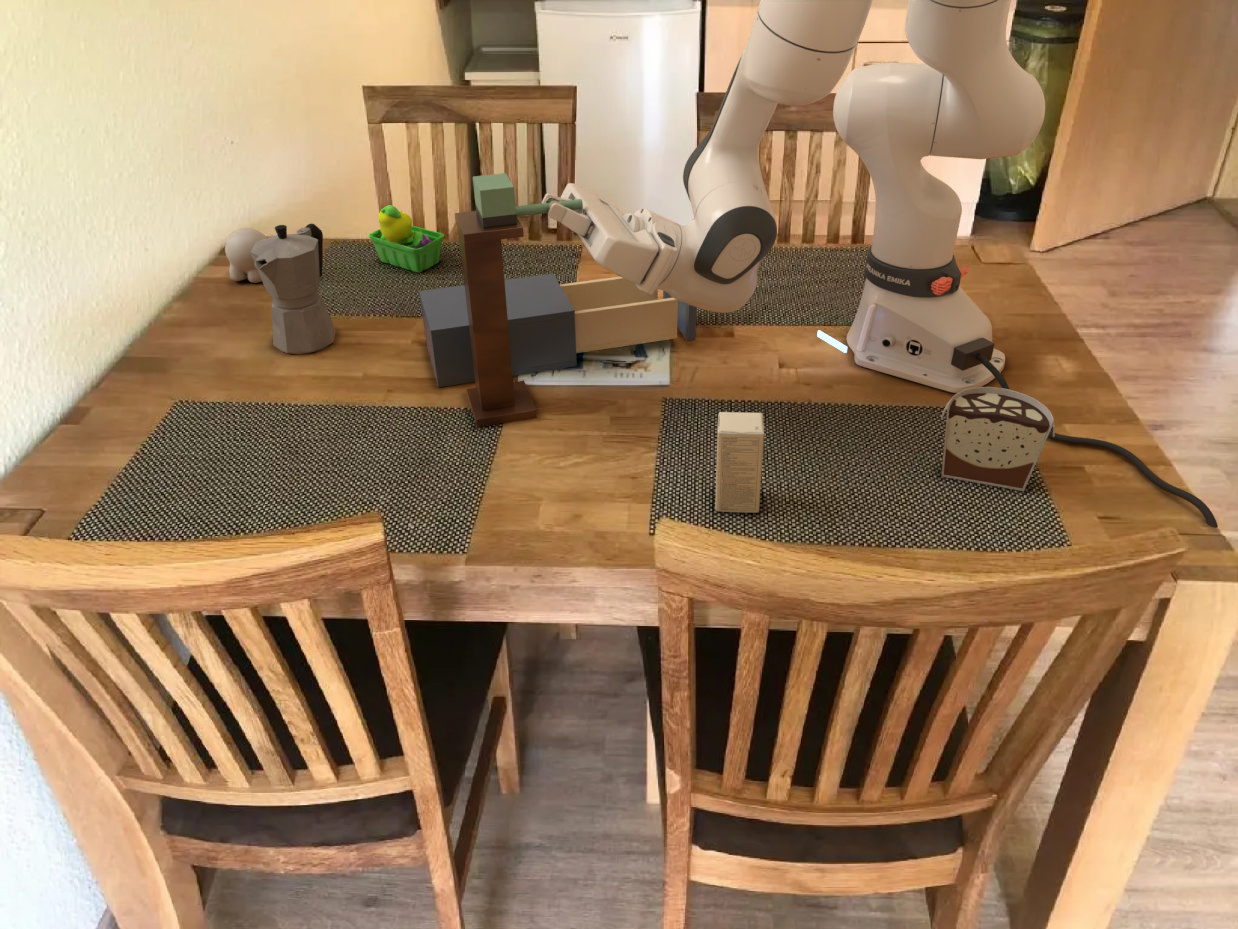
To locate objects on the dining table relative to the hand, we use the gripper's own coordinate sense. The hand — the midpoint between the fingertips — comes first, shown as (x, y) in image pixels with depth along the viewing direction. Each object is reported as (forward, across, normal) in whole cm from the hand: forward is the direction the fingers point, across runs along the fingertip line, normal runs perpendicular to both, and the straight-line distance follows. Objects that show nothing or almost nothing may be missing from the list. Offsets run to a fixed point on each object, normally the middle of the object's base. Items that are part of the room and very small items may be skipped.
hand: (547, 204), depth 117 cm
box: (-26, +29, +16) cm, 42 cm away
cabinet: (-9, -14, +26) cm, 31 cm away
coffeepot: (+14, -28, +40) cm, 51 cm away
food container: (-53, +32, +1) cm, 62 cm away
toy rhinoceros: (+19, -52, +42) cm, 70 cm away
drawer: (-27, -14, +15) cm, 34 cm away
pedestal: (-7, 0, +27) cm, 28 cm away
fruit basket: (-1, -51, +31) cm, 60 cm away
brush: (+1, 0, +2) cm, 2 cm away
